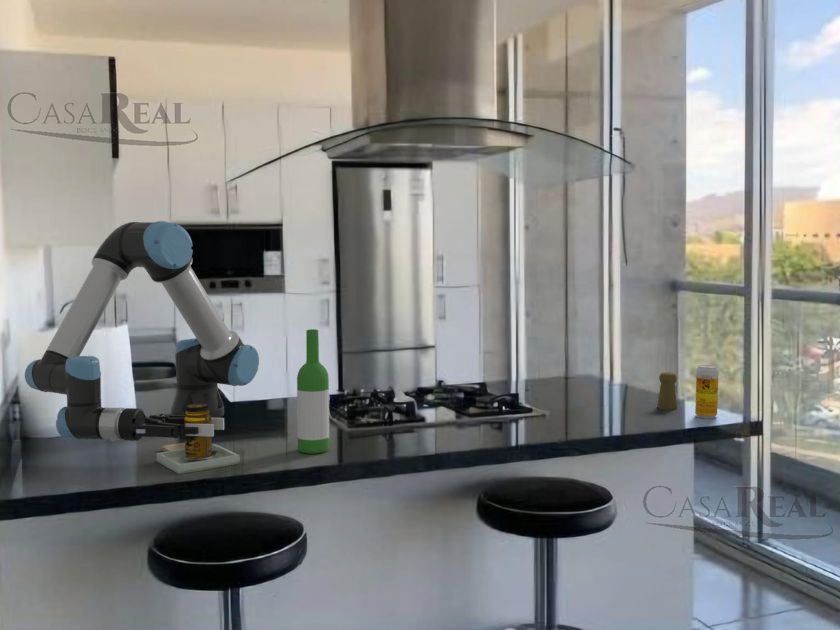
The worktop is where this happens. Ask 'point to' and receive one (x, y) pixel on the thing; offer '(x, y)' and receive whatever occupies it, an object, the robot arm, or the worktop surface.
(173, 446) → the bench board
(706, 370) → the beer can
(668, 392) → the cork
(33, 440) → the worktop surface
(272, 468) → the worktop surface
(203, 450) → the condiment
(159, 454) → the tray
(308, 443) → the wine bottle
